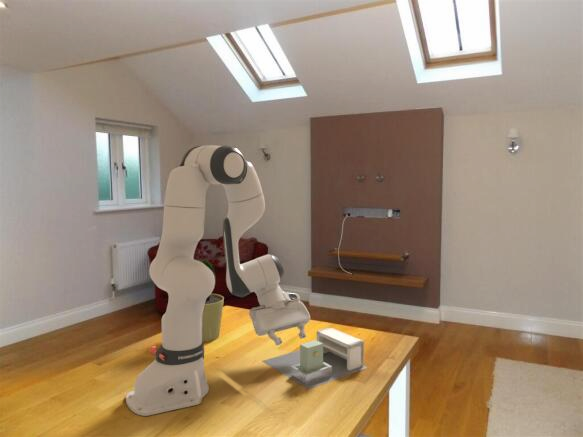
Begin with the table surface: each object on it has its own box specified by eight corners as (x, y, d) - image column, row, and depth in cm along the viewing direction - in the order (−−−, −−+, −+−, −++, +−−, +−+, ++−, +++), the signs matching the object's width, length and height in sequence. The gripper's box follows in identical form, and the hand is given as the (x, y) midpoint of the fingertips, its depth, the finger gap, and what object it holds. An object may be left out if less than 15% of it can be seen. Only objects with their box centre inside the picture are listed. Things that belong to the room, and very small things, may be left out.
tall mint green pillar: (309, 382, 134) (309, 349, 133) (300, 376, 138) (300, 344, 137) (325, 376, 138) (325, 344, 137) (315, 371, 142) (315, 340, 141)
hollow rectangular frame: (305, 385, 133) (305, 375, 132) (291, 376, 138) (291, 366, 138) (331, 375, 139) (332, 366, 138) (316, 367, 144) (316, 358, 144)
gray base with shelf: (308, 393, 130) (308, 362, 129) (262, 364, 149) (261, 337, 148) (367, 371, 144) (368, 343, 144) (318, 347, 164) (318, 322, 163)
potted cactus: (175, 341, 169) (173, 261, 166) (195, 328, 184) (194, 254, 180) (213, 346, 164) (211, 264, 161) (231, 332, 179) (230, 256, 176)
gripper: (250, 303, 144) (268, 343, 137) (302, 293, 156) (320, 329, 149) (243, 314, 148) (260, 353, 141) (294, 303, 160) (311, 338, 154)
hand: (291, 340), depth 146 cm, fingers open, 8 cm apart
